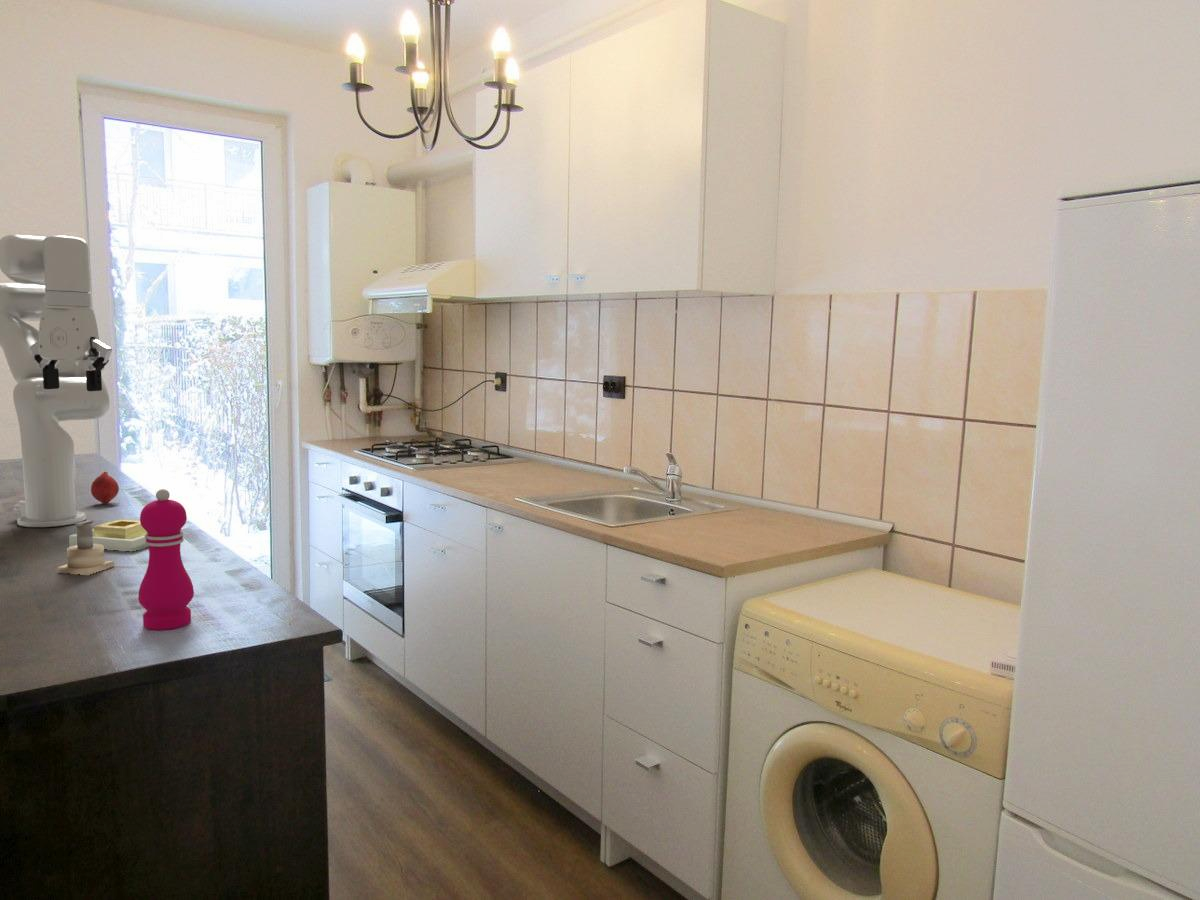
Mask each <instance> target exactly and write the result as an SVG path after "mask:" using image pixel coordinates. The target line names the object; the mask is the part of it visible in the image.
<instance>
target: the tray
mask: <svg viewBox="0 0 1200 900" xmlns="http://www.w3.org/2000/svg"><path fill="white" fill-rule="evenodd" d="M92 531H93V544H101V545H103V546H104V549H107V550H106V551H113V550H119V551H118V552H125V551H135V552H137V551H136V550H138V551H140V550H139V549H141V550H143V549H142V548H144V549H146V548H145V547H147V548H149V547H148V545H146V544H145V541H146V538H145V535H144V536H141V537H138V538H135V539H120V538H108V537H95V536H94V528H92ZM68 542H69V543H68V545H69V547H71V546H75V545H77V533H73V534H71V535H68ZM69 547H68V548H69Z"/></svg>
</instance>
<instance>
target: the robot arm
mask: <svg viewBox="0 0 1200 900" xmlns="http://www.w3.org/2000/svg"><path fill="white" fill-rule="evenodd" d="M88 245H89V244H88V243H87V241H86V240H85V239H83V238H80V237H76V236H71V235H70V236H68V235H48V236H40V235H39V236H38V235H28V234H27V235H26V234H8V235H5V236H3V237H1V238H0V271H1V272H2V273H3V275H4V276H6V277H7V278H8V279H9V280H11V281H13V282H0V347H1V348H2V350H3V351H2V352H3V354H4V356H5V359H6V362H7V364H8V367H9V371H10V372H11V373H10V374H12V378H13V379H14V381H15V382H16V385H15V386H14V387H13V391H12V395H13V396H12V398H13V399H12V400H13V404H14V409H15V412H16V416H17V421H18V426H19V434H20V443H21V447H20V448H21V459H22V475H23V477H22V478H23V492H24V500H19V501H17V503H16V504H13V506H12V511H15V512H16V511H17V512H21V516H19V517H18V518H17V519H16V522H17V525H18V526H20V527H25V528H51V527H54V528H55V527H62V526H68V525H75V524H76V523H79V522H83V521H86V519H87V517H86V516H87V515H86V513H85V512H84V511H79V510H78V500H77V499H78V497H77V482H76V481H77V479H76V477H77V476H76V463H75V462H76V461H75V459H76V458H75V445H74V444H75V443H74V440H73V438H72V436H71V435H70V434H69V433H68V432H67V431H66V430H65V429H64V428H63V427H62V426H61V425H60V424H59V423H60V422H67V421H69V422H70V421H85V420H86V421H88V420H89V421H90V420H97V419H100V418H103V417H104V416H105V415H107V413H108V412H109V409H110V395H109V392H108V388H107V386H106V384H105V381H104V380H103V377H102V371H104V369H105V367H106V366H107V364H108V363H109V362H110V361H109V359H110V357H111V354H112V353H113V352H112V351H113V349H112V348H111V347H110V346H108V345H106V344H105V343H103V342H101V341H100V336H99V329H98V323H97V319H96V314H95V311H94V309H92V301H91V299H92V295H91V275H90V272H91V271H90V259H89V257H90V255H89V246H88ZM27 322H39V324H38V325H39V326H38V329H37V328H35V327H34V326H33V325H31V324H29V323H27Z"/></svg>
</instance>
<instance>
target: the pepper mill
mask: <svg viewBox="0 0 1200 900" xmlns="http://www.w3.org/2000/svg"><path fill="white" fill-rule="evenodd" d="M155 498H156V500H153V501H151V502H148V503H147V504H146V505H144V507H143V508H142V509H141V511H140V516H139V521H140V523H141V526H142V527H143V528H144V529H145V530H146V531H147V534H145V538H146V541H145V544H146V545H148V547H147V548H148V552H149V553H148V554H149V555H148V564H147V568H146V571H145V573H144V576H143V578H142V580H141V582H140V586H139V589H138V597H137V598H138V603H139V604H140V605H141V606H142V608H143V609H145V610H146V611H145V612H144V613H143V614H142V622H143V623H142V625H143V628H145V629H147V630H151V631H167V630H174V629H178V628H179V629H180V628H182V627H184V626H187V625H188V624H190V623H191V621H192V610H191V608H190V607H189V606H188V605H189V604H190V602H191V601H192V600H193V598H194V595H195V592H194V584H193V582H192V579H191V577H190V575H189V574H188V572H187V570H186V568H185V566H184V563H183V560H182V555H181V545H182V543H183V542H184V533H185V532H184V531H182V528H183V527H184V526H185V525H186V523H187V520H188V518H187V512H186V508H185V507H184V506H183V504H182V503H180V502H178V501H176V500H173V499H169V498H170V492H169V491H168V490H167V489H164V488H161V489H159V490H157V492H156V493H155Z"/></svg>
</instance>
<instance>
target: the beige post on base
mask: <svg viewBox="0 0 1200 900" xmlns="http://www.w3.org/2000/svg"><path fill="white" fill-rule="evenodd" d="M93 523H94V520H91V519H88V520H83V521H81V522H78V523H74V527H76V529H75V530H76V531H75V532H76V534H77V545H75V546H71V547H67V548H66V559H67V560H66V561H67V562H66V564H64V565H60V566H58V567H57V573H58V574H59V573H60V574H67V573H70V574H71V575H78V574H80V575H81V576H91V575H93V573H94V574H96V572H97V573H99V571H100V572H102V570H103V571H106V570H108V569H110V567H111V568H113V566H114V567H115V561H114V560H106V559H105V550H104V546H103V545H101V544H93V531H92V529H93ZM107 568H108V569H107ZM70 574H69V575H70ZM90 574H91V575H90Z"/></svg>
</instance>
